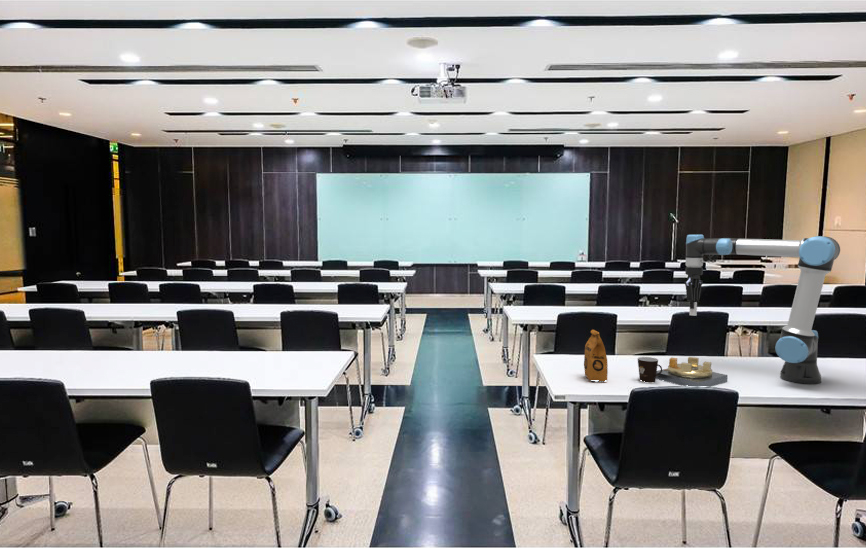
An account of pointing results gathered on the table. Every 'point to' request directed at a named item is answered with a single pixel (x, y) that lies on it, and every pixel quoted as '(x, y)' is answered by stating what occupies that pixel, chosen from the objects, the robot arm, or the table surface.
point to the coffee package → (595, 358)
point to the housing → (692, 379)
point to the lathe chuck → (690, 368)
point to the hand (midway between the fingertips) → (693, 315)
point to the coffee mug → (648, 368)
